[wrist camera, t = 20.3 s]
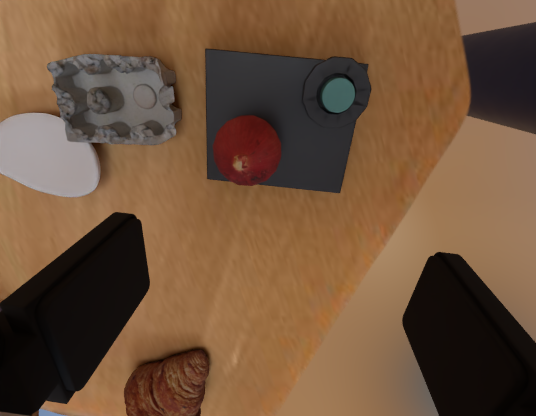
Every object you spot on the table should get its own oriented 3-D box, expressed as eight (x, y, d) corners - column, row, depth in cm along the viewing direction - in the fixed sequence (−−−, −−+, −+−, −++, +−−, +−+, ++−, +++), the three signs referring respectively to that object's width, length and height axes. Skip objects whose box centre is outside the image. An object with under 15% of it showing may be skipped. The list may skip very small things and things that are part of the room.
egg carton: (177, 56, 26) (159, 54, 22) (186, 138, 29) (172, 148, 25) (65, 54, 26) (29, 52, 22) (87, 135, 29) (59, 145, 26)
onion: (291, 157, 28) (291, 188, 20) (239, 177, 29) (222, 213, 22) (268, 99, 25) (259, 112, 18) (213, 124, 27) (185, 145, 20)
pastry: (115, 343, 45) (82, 396, 38) (208, 346, 44) (192, 401, 36) (142, 404, 52) (119, 457, 45) (222, 407, 51) (211, 463, 44)
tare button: (354, 78, 23) (358, 79, 22) (347, 111, 24) (351, 114, 23) (323, 75, 23) (325, 76, 22) (317, 108, 24) (319, 111, 23)
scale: (368, 61, 25) (378, 60, 22) (340, 188, 30) (345, 200, 27) (209, 46, 25) (199, 43, 22) (210, 174, 31) (202, 185, 28)
